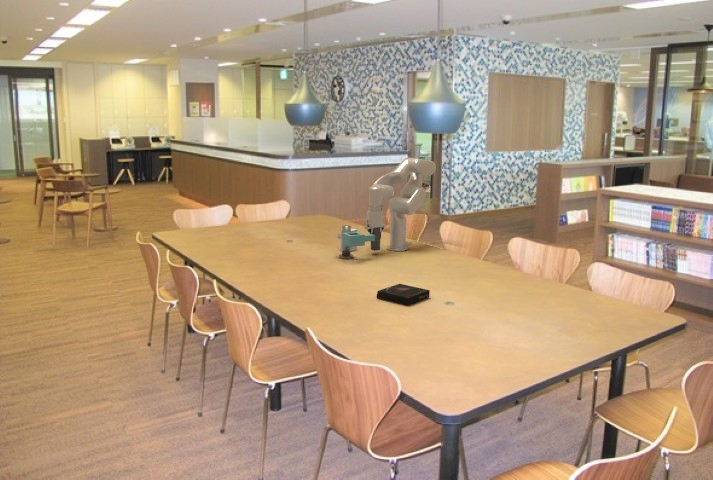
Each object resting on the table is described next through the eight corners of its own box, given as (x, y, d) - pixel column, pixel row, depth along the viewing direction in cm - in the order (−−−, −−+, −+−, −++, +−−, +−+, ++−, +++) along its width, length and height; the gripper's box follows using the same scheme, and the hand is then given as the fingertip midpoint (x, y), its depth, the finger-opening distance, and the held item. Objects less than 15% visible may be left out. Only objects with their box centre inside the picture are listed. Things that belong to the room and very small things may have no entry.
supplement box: (349, 251, 368) (350, 230, 366) (340, 250, 372) (340, 229, 370) (357, 249, 374) (357, 229, 371) (347, 248, 378) (347, 227, 376)
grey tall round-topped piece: (350, 254, 361) (350, 223, 357) (358, 258, 352) (358, 226, 349) (334, 256, 356) (334, 225, 353) (342, 259, 348) (342, 228, 344)
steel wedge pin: (376, 248, 365) (376, 218, 361) (380, 250, 361) (380, 219, 357) (370, 249, 363) (370, 219, 359) (374, 250, 360) (374, 220, 356)
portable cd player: (398, 291, 288) (398, 283, 288) (429, 298, 278) (429, 290, 277) (376, 299, 276) (376, 290, 275) (408, 307, 265) (408, 298, 265)
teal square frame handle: (369, 241, 355) (369, 230, 353) (377, 244, 347) (377, 233, 345) (342, 243, 347) (342, 233, 346) (349, 246, 339) (349, 236, 338)
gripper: (384, 205, 364) (384, 236, 368) (359, 208, 356) (359, 239, 360) (391, 207, 357) (391, 239, 361) (365, 210, 350) (365, 242, 354)
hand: (375, 239), depth 361 cm, fingers closed on steel wedge pin, 4 cm apart
